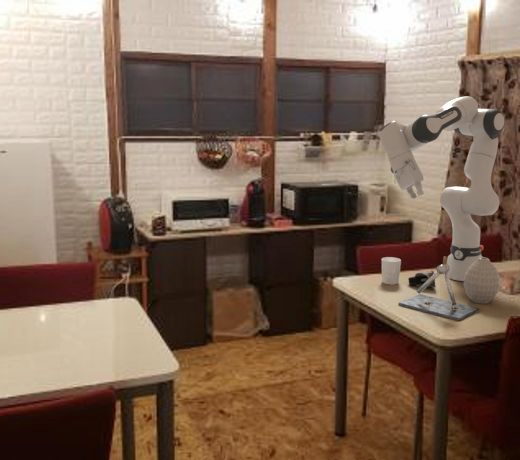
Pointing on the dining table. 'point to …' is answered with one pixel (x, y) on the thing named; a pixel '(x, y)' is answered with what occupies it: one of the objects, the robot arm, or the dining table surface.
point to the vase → (481, 281)
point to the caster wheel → (422, 279)
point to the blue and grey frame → (440, 303)
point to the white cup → (390, 270)
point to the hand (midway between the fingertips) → (417, 196)
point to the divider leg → (433, 277)
